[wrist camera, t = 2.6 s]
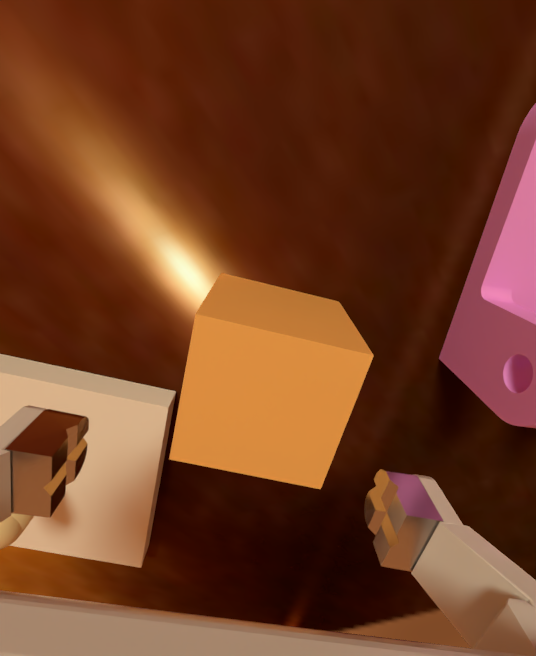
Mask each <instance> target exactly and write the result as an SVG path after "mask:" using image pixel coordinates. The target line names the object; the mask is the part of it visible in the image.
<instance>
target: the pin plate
mask: <svg viewBox="0 0 536 656" xmlns="http://www.w3.org/2000/svg"><path fill="white" fill-rule="evenodd" d="M175 395H176V391H172V390H167V389H162V388H157V387H153V386H148V385H143V384H139V383H134V382H129V381H125V380H120V379H115V378H111V377H106V376H101V375H97V374H92V373H87V372H83V371H78V370H73V369H69V368H64V367H59V366H55V365H50V364H45V363H41V362H36V361H31V360H27V359H22V358H17V357H13V356H8V355H3V354H0V426H1V425H3V424H4V423H5V422H6V421H7V420H8V419H9V418H11V417H12V416H13V415H14V414H15V413H16V412H17V411H18V410H20V409H21V408H22V407H24V406H28V405H30V406H35V407H40V408H45V409H51V410H56V411H61V412H66V413H71V414H76V415H81V416H86V417H87V418H88V419H89V430H88V431H87V433H86V434H85V436H84V437H83V438H84V439H85V441H86V442H87V444H88V445H87V453H86V457H85V461H84V463H83V466H82V468H81V471H80V473H79V474H78V476H77V477H76V479H75V481H73V482H71V483H69V484H67V485H66V490H65V496H64V498H63V499H62V501H61V502H60V504H59V505H58V507H57V508H56V510H55V511H54V513H53V514H52V516H51V517H50V518H48V517H39V516H31V515H22V514H14V513H11V516H10V517H8V518H7V519H5V520H4V521H2V522H0V549H2V548H5V547H7V546H9V545H10V546H16V547H22V548H28V549H34V550H39V551H45V552H51V553H57V554H63V555H69V556H75V557H80V558H86V559H92V560H98V561H104V562H110V563H116V564H121V565H127V566H133V567H139V568H141V567H142V564H143V561H144V558H145V555H146V552H147V549H148V546H149V542H150V537H151V531H152V525H153V520H154V514H155V508H156V503H157V497H158V491H159V486H160V480H161V474H162V469H163V463H164V457H165V452H166V446H167V440H168V435H169V429H170V423H171V418H172V412H173V406H174V401H175Z"/></svg>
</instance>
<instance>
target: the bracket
mask: <svg viewBox="0 0 536 656" xmlns="http://www.w3.org/2000/svg"><path fill="white" fill-rule="evenodd" d="M439 359H440V360H441V361H442V362H443V363H444V364H445V365H446V366H447V367H448V368H449V369H450V370H451V371H452V372H453V373H454V374H455V375H456V376H457V377H458V378H459V379H460V380H461V381H462V382H463V383H464V384H465V385H466V386H468V387H469V388H470V389H471V390H472V391H473V392H474V393H475V394H476V395H477V396H478V397H479V398H480V399H481V400H482V401H483V402H484V403H485V404H486V405H487V406H488V407H489V408H490V409H491V410H492V411H493V412H494V413H495V414H496V415H497V416H498V417H500V418H501V419H502V420H504V421H505V422H507V423H509V424H511V425H515V426H521V427H529V428H536V103H535V105H534V106H533V107H532V109H531V110H530V111H529V113H528V115H527V116H526V118H525V120H524V121H523V123H522V125H521V127H520V130H519V132H518V135H517V137H516V140H515V143H514V146H513V149H512V152H511V154H510V157H509V160H508V163H507V166H506V169H505V172H504V174H503V177H502V180H501V183H500V186H499V189H498V191H497V194H496V197H495V200H494V203H493V206H492V209H491V211H490V214H489V217H488V220H487V223H486V226H485V229H484V231H483V234H482V237H481V240H480V243H479V246H478V249H477V251H476V254H475V257H474V260H473V263H472V266H471V269H470V271H469V274H468V277H467V280H466V283H465V286H464V288H463V291H462V294H461V297H460V300H459V303H458V306H457V308H456V311H455V314H454V317H453V320H452V323H451V326H450V328H449V331H448V334H447V337H446V340H445V343H444V346H443V348H442V351H441V354H440V357H439Z"/></svg>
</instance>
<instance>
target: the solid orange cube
mask: <svg viewBox="0 0 536 656" xmlns="http://www.w3.org/2000/svg"><path fill="white" fill-rule="evenodd" d="M373 356H374V355H373V354H372V352H371V350H370V349H369V347H368V346H367V344H366V343H365V341H364V340H363V338H362V336H361V335H360V333H359V332H358V330H357V329H356V327H355V326H354V324H353V322H352V321H351V319H350V318H349V316H348V315H347V313H346V312H345V310H344V309H343V307H342V305H341V304H340V302H338V301H334V300H330V299H326V298H322V297H318V296H314V295H310V294H306V293H302V292H298V291H294V290H289V289H285V288H281V287H277V286H273V285H269V284H265V283H261V282H257V281H253V280H249V279H245V278H240V277H236V276H232V275H228V274H224V273H221V274H220V276H219V277H218V279H217V280H216V282H215V284H214V285H213V287H212V289H211V290H210V292H209V293H208V295H207V297H206V298H205V300H204V301H203V303H202V305H201V306H200V308H199V309H198V311H197V313H196V315H195V320H194V326H193V331H192V337H191V342H190V348H189V353H188V359H187V364H186V370H185V375H184V380H183V386H182V391H181V397H180V402H179V408H178V413H177V419H176V424H175V430H174V435H173V441H172V446H171V451H170V457H169V459H170V460H175V461H180V462H185V463H190V464H195V465H200V466H205V467H210V468H215V469H220V470H225V471H230V472H236V473H241V474H246V475H251V476H256V477H261V478H266V479H271V480H276V481H281V482H286V483H291V484H296V485H301V486H306V487H311V488H317V489H321V487H322V485H323V482H324V480H325V477H326V475H327V472H328V469H329V467H330V464H331V462H332V459H333V457H334V454H335V452H336V449H337V447H338V444H339V442H340V439H341V437H342V434H343V432H344V429H345V427H346V424H347V422H348V419H349V417H350V414H351V412H352V409H353V407H354V404H355V401H356V399H357V396H358V394H359V391H360V389H361V386H362V384H363V381H364V379H365V376H366V374H367V371H368V369H369V366H370V364H371V361H372V359H373Z"/></svg>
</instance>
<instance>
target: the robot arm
mask: <svg viewBox="0 0 536 656" xmlns="http://www.w3.org/2000/svg"><path fill="white" fill-rule="evenodd" d="M88 430H89V419H88V418H87V417H86V416H81V415H76V414H71V413H66V412H61V411H56V410H51V409H45V408H40V407H35V406H30V405H28V406H24V407H22V408H21V409H20V410H18V411H17V412H16V413H15V414H14V415H13V416H12V417H11V418H9V419H8V420H7V421H6V422H5V423H4V424H3V425H1V426H0V522H2V521H4V520H5V519H7V518H8V517H10V516H11V513H14V514H22V515H31V516H39V517H48V518H50V517H51V516H52V514H53V513H54V511H55V510H56V508H57V507H58V505H59V504H60V502H61V501H62V499H63V498H64V496H65V490H66V485H67V484H69V483H71V482H73V481H75V479H76V477H77V476H78V474H79V473H80V471H81V468H82V466H83V463H84V461H85V457H86V453H87V445H88V444H87V442H86V441H85V439H84V438H83V437H84V436H85V434H86V433H87V431H88ZM374 481H375V484H376V487H375V488H373V489H372V490H370V491H369V492H368V494H367V497H366V500H365V507H364V513H365V520H366V523H367V526H368V528H369V529H370V530H371V531H372V532H373V533H374V534H375V535H376V536H375V538H374V541H373V544H374V547H375V550H376V553H377V556H378V559H379V562H380V565H381V566H383V567H388V568H394V569H399V570H405V571H411V572H412V573H411V574H412V575H413V576H414V577H415V579H416V580H417V581H418V582H419V584H420V585H421V586H422V587H423V589H424V590H425V591H426V592H427V594H428V595H429V596H430V597H431V599H432V600H433V601H434V602H435V604H436V605H437V606H438V607H439V609H440V610H441V611H442V612H443V614H444V615H445V616H446V617H447V619H448V620H449V621H450V622H451V624H452V625H453V626H454V627H455V629H456V630H457V631H458V632H459V634H460V635H461V636H462V637H463V639H464V640H465V641H466V642H467V643H468V645H469V646H470V647H471V648H462V647H455V646H446V645H438V644H431V643H422V642H414V641H406V640H398V639H389V638H382V637H373V636H365V635H357V634H349V633H341V632H332V631H324V630H316V629H308V628H300V627H291V626H283V625H275V624H267V623H259V622H251V621H243V620H235V619H227V618H219V617H211V616H203V615H195V614H186V613H178V612H170V611H162V610H154V609H146V608H138V607H130V606H122V605H114V604H105V603H97V602H89V601H81V600H73V599H65V598H57V597H49V596H40V595H32V594H24V593H16V592H8V591H0V656H536V580H535V579H533V578H532V577H531V576H530V575H528V574H527V573H526V572H525V571H523V570H522V569H521V568H520V567H518V566H517V565H516V564H515V563H514V562H512V561H511V560H510V559H509V558H507V557H506V556H505V555H504V554H502V553H501V552H500V551H499V550H497V549H496V548H495V547H494V546H492V545H491V544H490V543H489V542H487V541H486V540H485V539H484V538H483V537H481V536H480V535H479V534H478V533H476V532H475V531H474V530H473V529H471V528H470V527H469V526H464V525H463V524H462V522H461V521H460V519H459V518H458V516H457V514H456V513H455V511H454V510H453V508H452V507H451V505H450V503H449V502H448V500H447V499H446V497H445V495H444V494H443V492H442V491H441V489H440V488H439V486H438V484H437V483H436V481H435V480H434V479H433V478H431V477H428V476H422V475H415V474H414V475H412V474H406V473H400V472H395V471H389V470H383V469H380V470H379V471H378V472H377V474H376V476H375V478H374Z"/></svg>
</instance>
